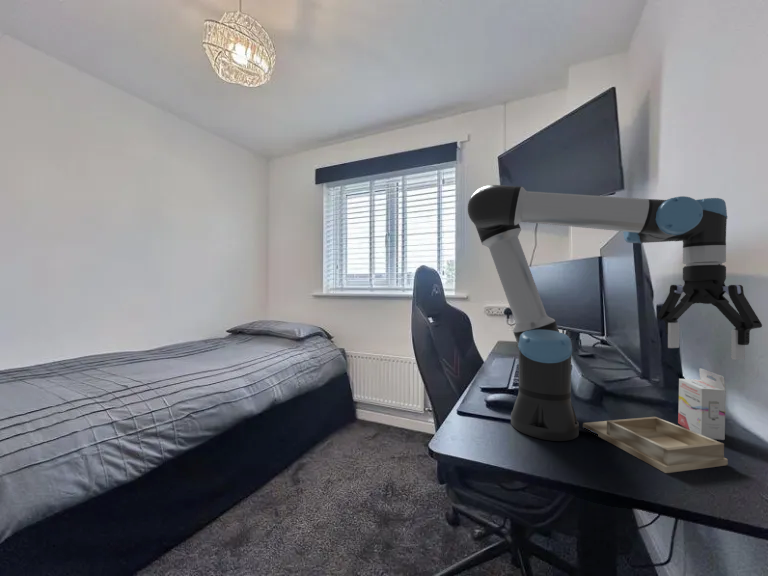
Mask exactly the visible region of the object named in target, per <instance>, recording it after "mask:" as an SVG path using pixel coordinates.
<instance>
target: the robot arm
mask: <svg viewBox="0 0 768 576" xmlns="http://www.w3.org/2000/svg"><path fill="white" fill-rule="evenodd" d="M467 215H468V217H469V219H470V221H471V222H472V223H473V224H474V226H475V228H476V231H477V234H478V237H479V240H480V242H481V244H482V246H485V247H487V248H488V249H489V253H490V255H491V257H492V260H493V264H494V265H495V266H494V267H495V269H496V271H497V274H498V278H499V279H500V283H501V285H502V287H503V291H504V293H505V296H506V299H507V303H508V305H509V308H510V310H511V313H512V316H513V319H514V323H515V326H514V328H513V330H512V333H513V335H514V338H515V340H516V341H515V342H516V343H517V346H518V347H517V348H518V394H517V397H516V399H515V401H514V404H513V409H512V410H511V413H510V424H511V425H512V427H513V428H514V429H515V430H517V431H518V432H520V433H522V434H525V435H526V436H529V437H532V438H536V439H539V440H545V441H554V442H566V441H567V442H568V441H572V440H574V439H576V438H578V437H579V434H580V433H579V432H580V426H579V421H578V419H577V415H576V412H575V408H574V406H573V403H572V353H573V346H572V340H571V338H570V336H569V335H567V334H566V333H564V332H560V329H559V328H558V325H557V322H556V320H555V318H552V317H550V316H549V315H548V314H547V313H546V309H545V307H544V303H543V301H542V298H541V295H540V293H539V291H538V288H537V285H536V281H535V280H534V277H533V273H532V272H531V269H530V266H529V263H528V261H527V258H526V255H525V252H524V250H523V246H522V244H521V242H520V239H519V236H520V233H521V232H522V228H521V225H520V223H529V224H541V225H549V226H551V225H553V226H563V227H571V228H572V227H573V228H585V229H596V230H604V231H613V232H614V231H616V232H623V238H624V241H625V242H626V243H629V244H643V243H644V244H645V243H664V242H667V243H668V242H682V264H684V265H685V266H683V267H682V280H683V282H684V283H683V285H682V284H671V285H670V286H669V293H668V295H667V297H666V298H665V301H664V302H663V304H662V306H661V309H660V310H659V312H658V314H657V317H656V318H657V319H658V320H662V321H664V323H665V324H664V325H665V328H664V329H665V334H666V335H667V348H668V349H678V348H680V322H678V319H680V317H682V316H683V314H685V312H686V311H687V310H688V309H690V308H691V307H692V306H693V305H695V304H703V305H710V304H711V305H712V306H714V307H715V308H717V309H718V311H719V312H720V313H722V314H723V316H724V317H725V318H726V319H727V320H728V321H729V322H730V323H731V325H732V326H734V329H731V334H730V335H731V337H730V338H731V339H730V340H731V341H730V344H731V345H730V348H731V349H730V356H731V357H730V359H731V360H735V361H738V360H745V359H746V346H749V344H750V335H751V334H750V333H751V332H750V331H752V330H754V329H759V328H763V327H762V326H763V324H762V322H761V320H760V319H759V317H758V315H757V313H755V310H754V309H753V307H752V306H751V304H750V302H749V300H748V299H747V298H746V296H745V294H744V293H745V292H744V287H743V286H744V285H742V284H730V285H726V284H725V282H726V279H727V266H726V265H724V263H726V262H727V219H728V212H727V205H726V201H725V200H724V199H723V198H719V197H708V198H700V199H699V198H698V199H695V198H693V197H690V196H684V195H683V196H676V197H675V196H674V197H671V198H670V197H669V198H668V199H656V198H655V199H652V198H651V199H649V198H636V197H619V196H608V195H607V196H604V195H594V194H593V195H592V194H590V195H589V194H578V193H577V194H575V193H561V192H560V193H559V192H558V193H557V192H543V191H528V190H526V189H525V188H524V187H523V186H517V185H515V186H514V185H503V184H502V185H501V184H489V185H484V186H482V187H480V188H478V189H477V190H475V192H474V193H472V195H471V196H470V198H469V200H468V203H467ZM683 293H684V295H683V297H682V298H681V296H682V294H683ZM725 294H727V295H728V296H729V298H730V300H731V302H732V304H733V306H734V307H735V308H734V307H733V306H732V305H731V304H730V301H729V300H728V299H727V298H726V297H725ZM679 300H680V301H679Z"/></svg>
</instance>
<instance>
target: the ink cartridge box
mask: <svg viewBox="0 0 768 576" xmlns="http://www.w3.org/2000/svg"><path fill="white" fill-rule="evenodd" d="M698 372H699V379H695V378H694V379H692V378H678V411H677V412H678V413H677V414H678V416H677V417H678V419H677V423H678V424H679V426H681V427H683V428H685V429H688V430H690V431H693V432H696V433H698V434H701V435H703V436H706V437H708V438H711V439H713V440H719V441H724V440H725V438H726V436H725V435H726V434H725V433H726V432H725V431H726V397H727V395H726V394H727V392H726V384H725V383H726V382H725V381H726V379H725V377H724V376H723V375H720V374H718V373H715V372H712V371H710V370H708V369H707V370H706V369H704V368H701V367H699V371H698ZM709 377H712V378H714V379H715V380H714V379H712V378H709ZM678 424H677V425H678Z"/></svg>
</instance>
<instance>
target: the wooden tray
mask: <svg viewBox="0 0 768 576" xmlns="http://www.w3.org/2000/svg"><path fill="white" fill-rule="evenodd" d="M583 427H585V428H587V429H590V430H592V431H594V432H596V433H597V434H598V436H597V437H598V438H601V439H602V440H604V441H607V442H608V443H610V444H612V445H614V446H616V447H617V448H619V449H621V450H623V451H624V452H626V453H628V454H630V455H632V456H633V457H636V459H639V460H641V461H643V462H645V463H647V464H648V465H650V466H651V467H653V468H655V469H657V470H659V471H661V472H663V473H664V474H671V473H677V472H678V473H679V472H685V471H694V470H699V469H700V470H702V469H708V468H710V469H711V468H715V467H717V468H718V467H723V466H728V463H729V461H728V458H726V457H725V443H723V442H720V441H717V439H711V438H708V437H706V436H703V435H701V434H698V433H696V432H693V431H690V430H688V429H686V428H685V427H683V426H681V425H678V424H676V423H674V422H670V421H668V420H665V419H663V418H660V417H657V416H649V417H647V416H646V417H637V418H634V417H633V418H626V419H625V418H623V419H612V420H604V421H603V420H602V421H601V420H600V421H590V422H583V423H582V428H583Z"/></svg>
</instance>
